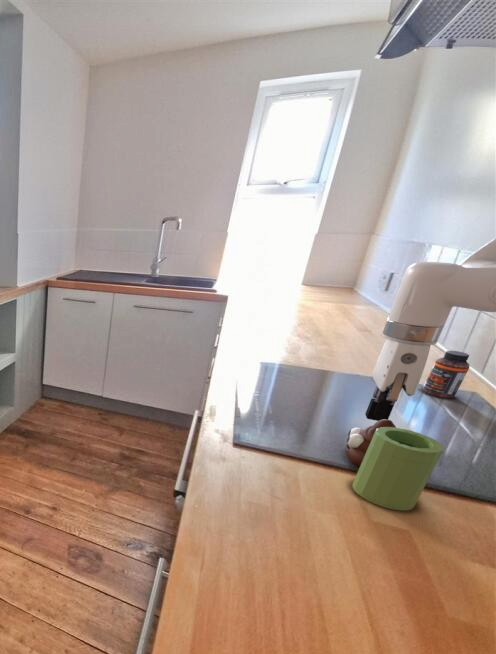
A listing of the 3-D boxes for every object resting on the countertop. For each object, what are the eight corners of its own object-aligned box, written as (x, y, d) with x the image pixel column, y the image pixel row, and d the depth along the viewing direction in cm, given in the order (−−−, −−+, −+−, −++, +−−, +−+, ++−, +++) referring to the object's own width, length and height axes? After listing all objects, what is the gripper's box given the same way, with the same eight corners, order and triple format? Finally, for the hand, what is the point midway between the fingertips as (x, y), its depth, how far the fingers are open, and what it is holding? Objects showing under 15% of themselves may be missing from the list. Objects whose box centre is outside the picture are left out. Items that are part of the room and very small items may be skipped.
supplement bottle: (415, 390, 108) (434, 350, 104) (430, 388, 110) (449, 347, 106) (445, 400, 103) (465, 357, 99) (460, 397, 105) (481, 355, 100)
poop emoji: (400, 482, 73) (422, 436, 69) (339, 464, 78) (356, 420, 74) (399, 458, 80) (419, 415, 76) (343, 443, 85) (359, 402, 81)
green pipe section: (372, 477, 74) (396, 424, 70) (426, 505, 67) (456, 447, 63) (341, 485, 72) (363, 430, 68) (393, 514, 65) (422, 456, 61)
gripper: (452, 345, 69) (409, 440, 76) (428, 325, 80) (392, 409, 88) (392, 338, 73) (356, 429, 80) (377, 320, 84) (347, 401, 91)
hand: (375, 418), depth 84 cm, fingers closed
